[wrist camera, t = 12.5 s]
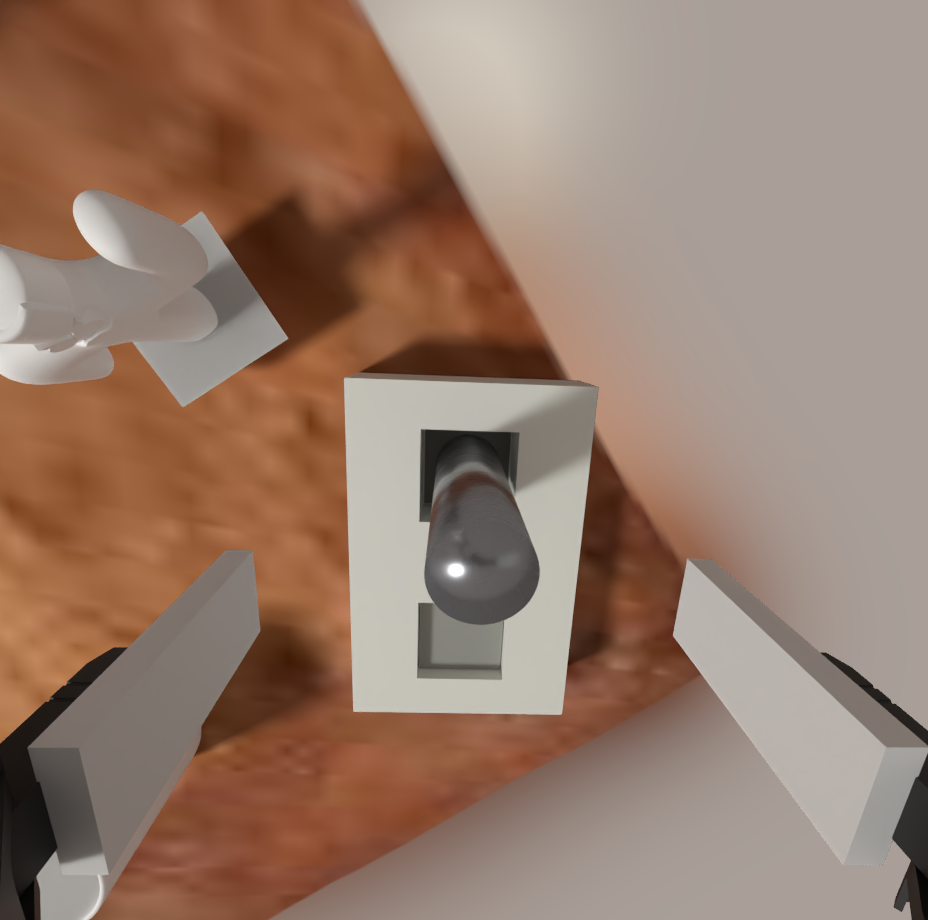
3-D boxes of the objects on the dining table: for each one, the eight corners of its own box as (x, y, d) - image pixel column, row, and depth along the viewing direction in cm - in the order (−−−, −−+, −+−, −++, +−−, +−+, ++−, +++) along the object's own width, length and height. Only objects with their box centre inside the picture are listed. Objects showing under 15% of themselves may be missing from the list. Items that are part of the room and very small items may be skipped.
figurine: (124, 305, 28) (-244, 268, 13) (250, 217, 26) (4, 69, 12) (201, 408, 29) (-47, 476, 15) (323, 329, 28) (185, 318, 14)
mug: (33, 726, 35) (-143, 888, 25) (155, 655, 34) (23, 795, 23) (110, 799, 37) (-23, 978, 27) (229, 735, 36) (137, 897, 25)
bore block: (358, 372, 29) (344, 377, 25) (579, 380, 29) (598, 387, 25) (364, 669, 34) (353, 711, 31) (549, 672, 35) (561, 714, 31)
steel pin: (437, 433, 29) (424, 519, 15) (500, 435, 29) (544, 521, 15) (436, 493, 30) (423, 624, 16) (497, 495, 30) (535, 625, 16)
